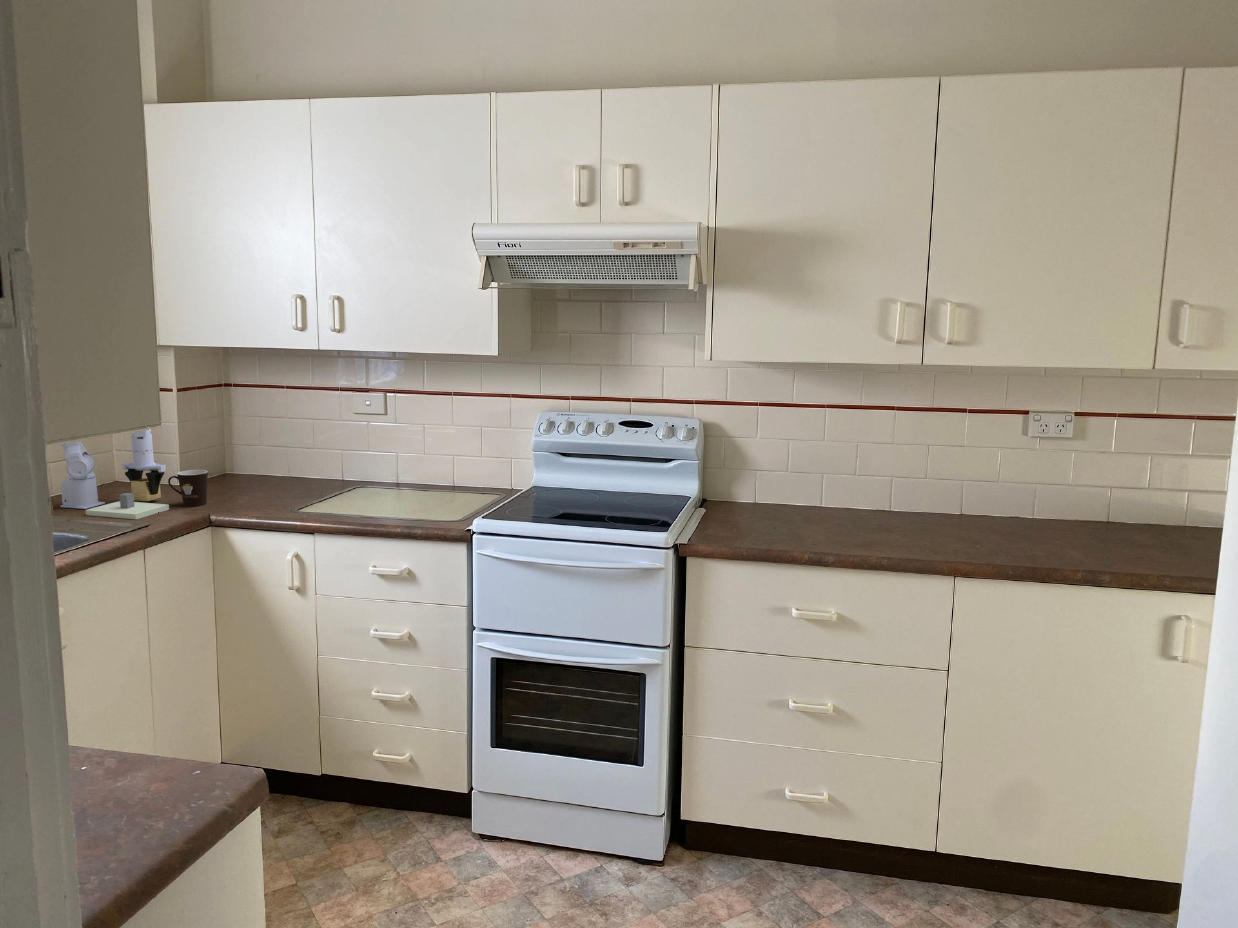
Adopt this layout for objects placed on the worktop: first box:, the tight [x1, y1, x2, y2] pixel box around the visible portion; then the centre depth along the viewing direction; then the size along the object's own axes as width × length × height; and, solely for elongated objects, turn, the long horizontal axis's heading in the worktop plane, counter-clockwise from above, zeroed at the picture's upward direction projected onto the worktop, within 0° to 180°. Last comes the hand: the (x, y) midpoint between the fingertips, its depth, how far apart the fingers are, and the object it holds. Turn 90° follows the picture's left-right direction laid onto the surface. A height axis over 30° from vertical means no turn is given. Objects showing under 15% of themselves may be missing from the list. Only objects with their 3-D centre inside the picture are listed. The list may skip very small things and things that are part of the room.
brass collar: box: [130, 477, 162, 502], centre depth 293 cm, size 6×6×6 cm
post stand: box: [84, 492, 170, 520], centre depth 279 cm, size 18×13×6 cm
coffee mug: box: [167, 469, 209, 508], centre depth 290 cm, size 12×9×10 cm
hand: (146, 493), depth 293 cm, fingers closed on brass collar, 6 cm apart
